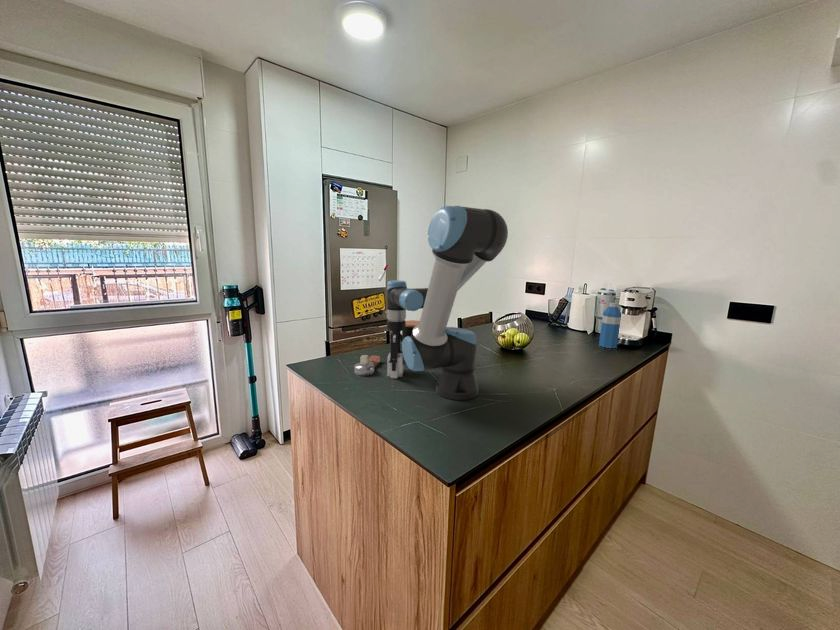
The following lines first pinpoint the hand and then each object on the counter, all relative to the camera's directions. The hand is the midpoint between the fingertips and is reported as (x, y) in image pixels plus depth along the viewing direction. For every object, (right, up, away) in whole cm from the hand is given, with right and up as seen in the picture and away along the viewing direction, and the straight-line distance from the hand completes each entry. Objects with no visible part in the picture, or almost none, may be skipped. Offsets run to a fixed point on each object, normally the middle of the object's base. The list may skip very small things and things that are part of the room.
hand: (395, 373), depth 135 cm
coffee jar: (+7, +2, +16) cm, 18 cm away
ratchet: (-12, +1, +5) cm, 13 cm away
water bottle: (+115, +6, +50) cm, 125 cm away
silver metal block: (0, 0, 0) cm, 0 cm away
